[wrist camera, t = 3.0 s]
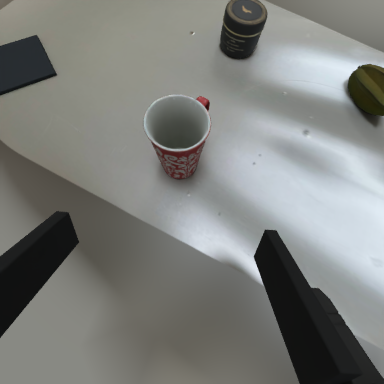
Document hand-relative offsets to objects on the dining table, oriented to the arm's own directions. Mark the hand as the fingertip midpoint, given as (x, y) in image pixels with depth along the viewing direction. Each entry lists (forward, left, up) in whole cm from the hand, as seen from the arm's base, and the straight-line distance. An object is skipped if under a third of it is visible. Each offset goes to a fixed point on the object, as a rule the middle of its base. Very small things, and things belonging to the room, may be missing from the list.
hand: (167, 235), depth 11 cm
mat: (-14, +55, -20) cm, 60 cm away
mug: (+9, +14, -20) cm, 26 cm away
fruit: (+56, +6, -20) cm, 60 cm away
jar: (+38, +36, -20) cm, 56 cm away
